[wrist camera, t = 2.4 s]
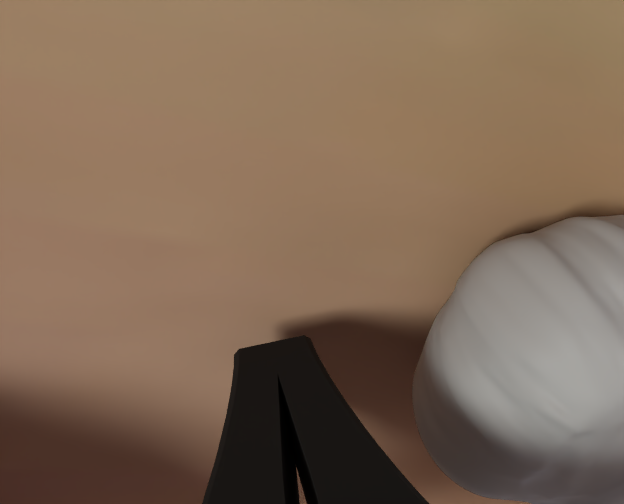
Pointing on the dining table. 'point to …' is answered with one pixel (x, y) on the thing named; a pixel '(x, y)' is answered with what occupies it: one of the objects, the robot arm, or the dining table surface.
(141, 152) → the dining table surface
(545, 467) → the garlic
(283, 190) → the dining table surface
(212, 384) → the dining table surface
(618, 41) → the dining table surface
